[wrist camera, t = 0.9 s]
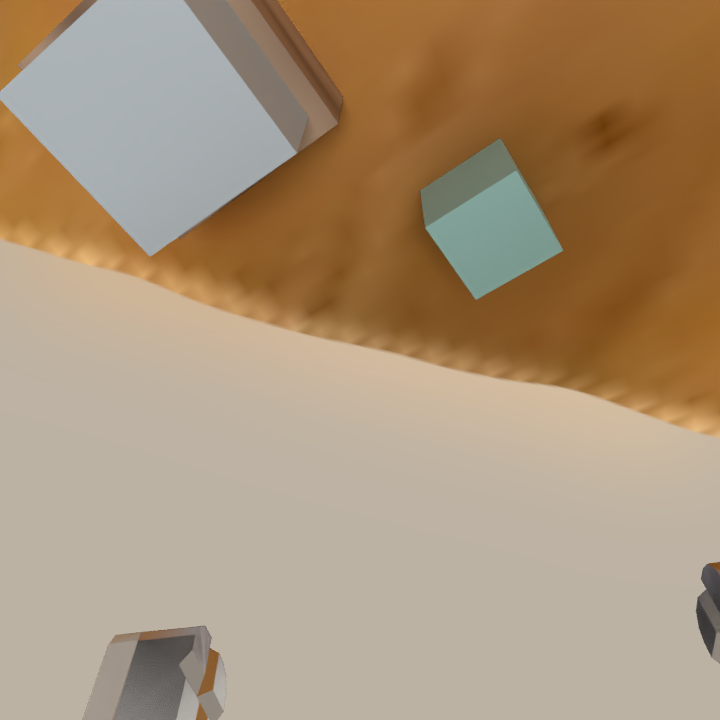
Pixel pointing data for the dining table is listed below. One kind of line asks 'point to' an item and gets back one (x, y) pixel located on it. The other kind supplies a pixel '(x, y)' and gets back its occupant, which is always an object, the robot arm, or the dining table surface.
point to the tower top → (159, 111)
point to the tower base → (283, 51)
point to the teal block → (487, 220)
